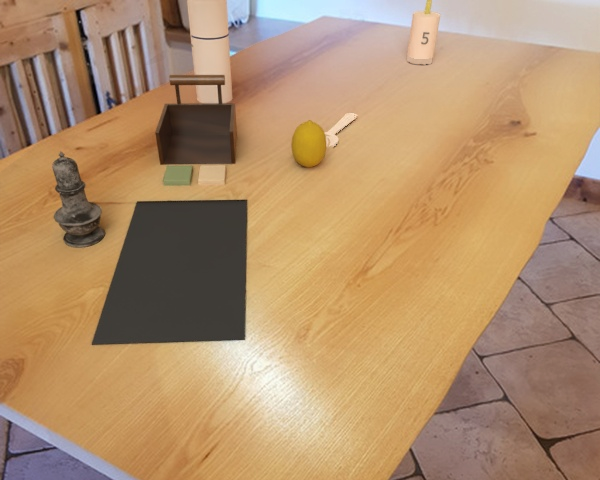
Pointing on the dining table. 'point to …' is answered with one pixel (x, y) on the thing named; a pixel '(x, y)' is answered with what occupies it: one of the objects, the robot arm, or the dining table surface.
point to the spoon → (338, 129)
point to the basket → (197, 127)
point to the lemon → (309, 144)
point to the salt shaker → (75, 206)
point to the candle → (423, 33)
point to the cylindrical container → (210, 46)
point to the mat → (179, 275)
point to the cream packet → (212, 175)
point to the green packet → (178, 175)
